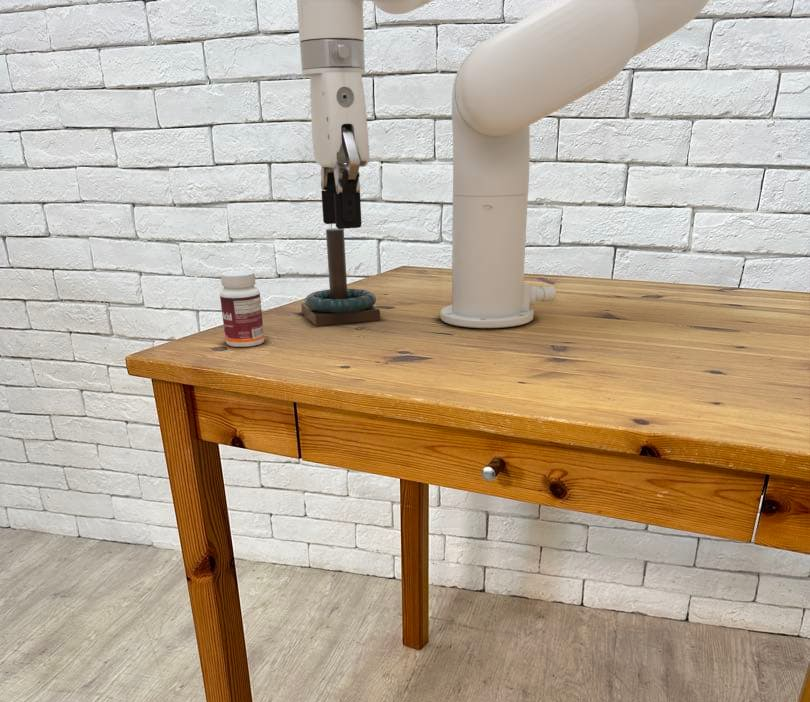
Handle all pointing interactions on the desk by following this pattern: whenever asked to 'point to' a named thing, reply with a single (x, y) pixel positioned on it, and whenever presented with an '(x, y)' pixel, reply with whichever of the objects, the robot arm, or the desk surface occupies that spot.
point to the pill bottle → (241, 309)
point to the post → (338, 286)
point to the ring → (340, 301)
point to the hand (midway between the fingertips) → (342, 224)
